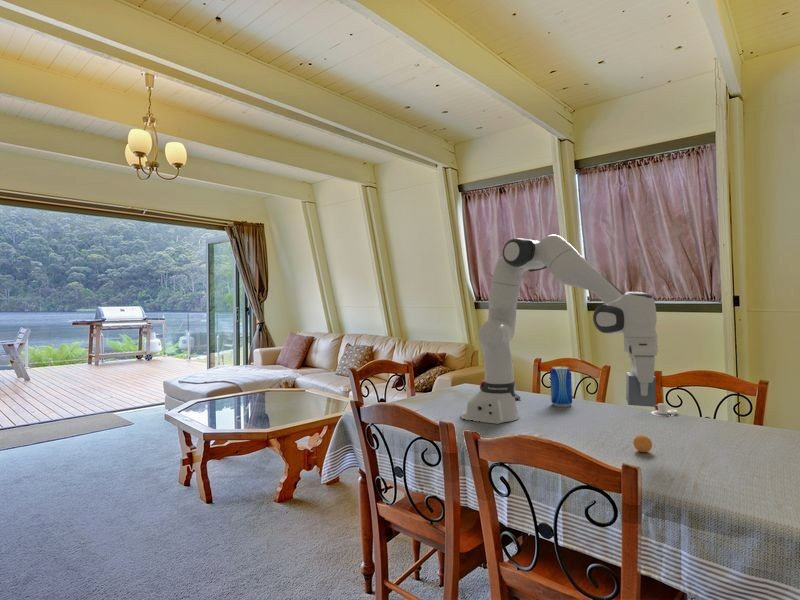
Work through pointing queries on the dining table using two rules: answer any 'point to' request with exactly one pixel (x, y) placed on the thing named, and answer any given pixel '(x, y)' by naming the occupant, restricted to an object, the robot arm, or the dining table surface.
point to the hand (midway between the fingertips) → (642, 392)
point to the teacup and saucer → (664, 410)
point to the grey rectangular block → (634, 391)
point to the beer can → (561, 386)
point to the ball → (642, 443)
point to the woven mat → (517, 397)
